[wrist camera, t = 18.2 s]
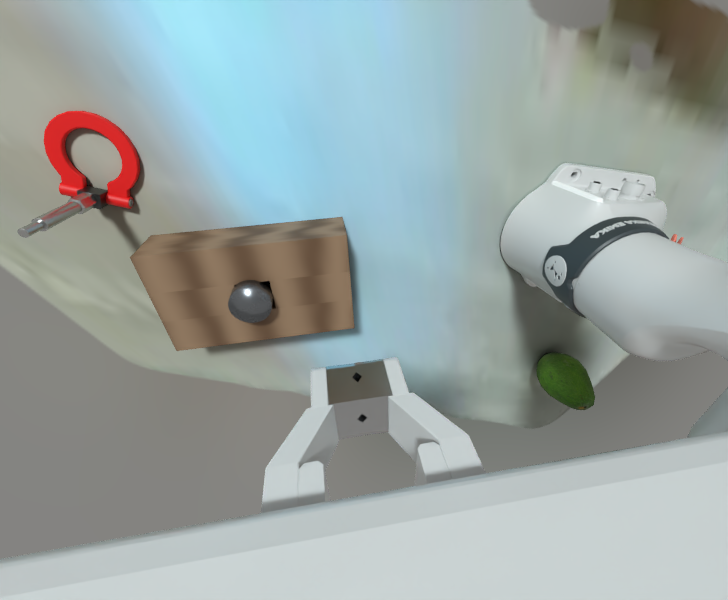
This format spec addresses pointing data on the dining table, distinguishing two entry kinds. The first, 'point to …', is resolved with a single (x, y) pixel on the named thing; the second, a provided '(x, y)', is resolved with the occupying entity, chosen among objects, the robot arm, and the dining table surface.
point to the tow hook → (75, 180)
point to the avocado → (566, 380)
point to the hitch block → (248, 262)
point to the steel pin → (251, 301)
